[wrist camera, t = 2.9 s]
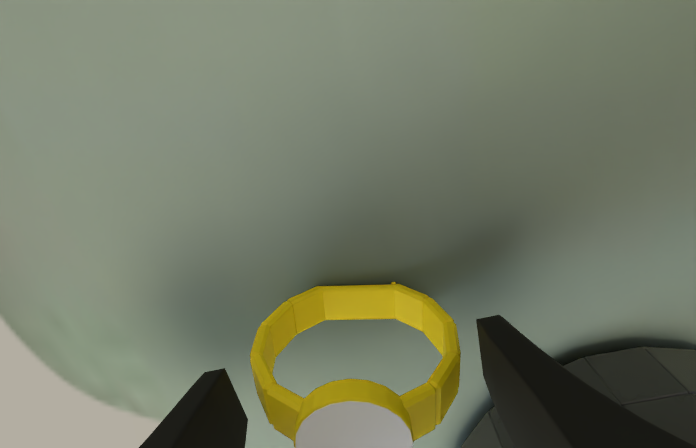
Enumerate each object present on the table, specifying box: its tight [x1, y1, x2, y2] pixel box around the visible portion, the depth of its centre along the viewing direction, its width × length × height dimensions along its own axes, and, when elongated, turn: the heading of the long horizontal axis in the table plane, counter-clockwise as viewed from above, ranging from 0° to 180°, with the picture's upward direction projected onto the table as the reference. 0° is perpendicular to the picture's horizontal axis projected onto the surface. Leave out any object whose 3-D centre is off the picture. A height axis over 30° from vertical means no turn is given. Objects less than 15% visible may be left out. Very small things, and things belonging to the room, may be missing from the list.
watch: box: [250, 282, 461, 448], centre depth 12 cm, size 6×3×6 cm, turn 94°
